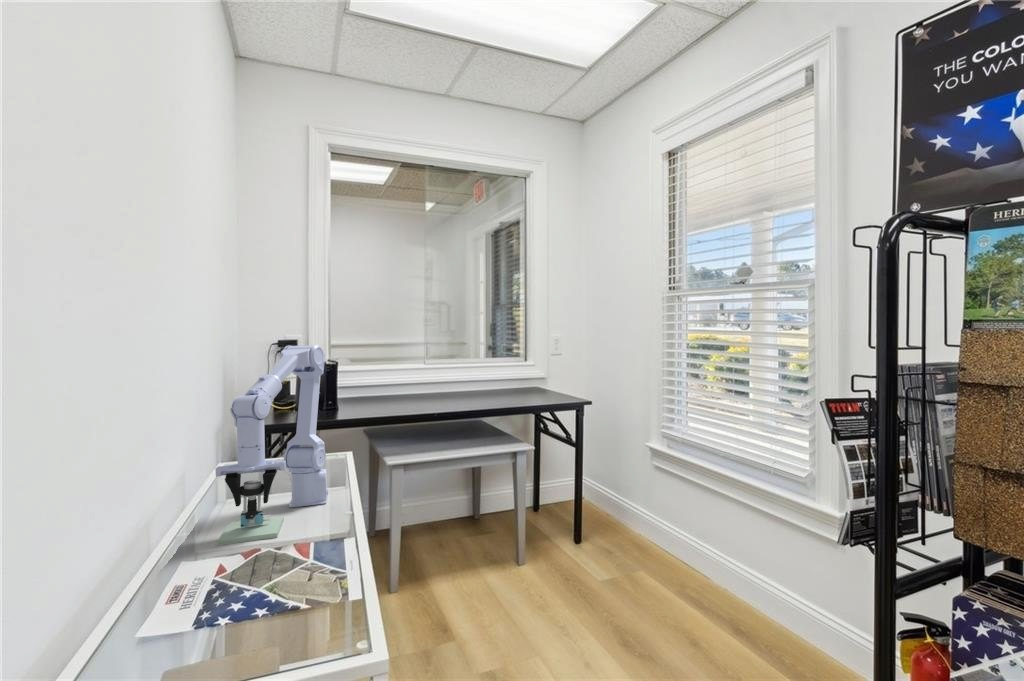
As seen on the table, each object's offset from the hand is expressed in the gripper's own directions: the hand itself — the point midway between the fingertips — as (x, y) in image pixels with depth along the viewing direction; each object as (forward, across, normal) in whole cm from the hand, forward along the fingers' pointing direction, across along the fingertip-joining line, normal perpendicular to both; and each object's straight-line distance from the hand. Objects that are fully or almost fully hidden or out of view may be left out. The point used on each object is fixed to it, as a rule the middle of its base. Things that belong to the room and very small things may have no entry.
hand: (252, 503), depth 116 cm
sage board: (+7, 0, 0) cm, 7 cm away
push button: (+5, 0, +1) cm, 5 cm away
